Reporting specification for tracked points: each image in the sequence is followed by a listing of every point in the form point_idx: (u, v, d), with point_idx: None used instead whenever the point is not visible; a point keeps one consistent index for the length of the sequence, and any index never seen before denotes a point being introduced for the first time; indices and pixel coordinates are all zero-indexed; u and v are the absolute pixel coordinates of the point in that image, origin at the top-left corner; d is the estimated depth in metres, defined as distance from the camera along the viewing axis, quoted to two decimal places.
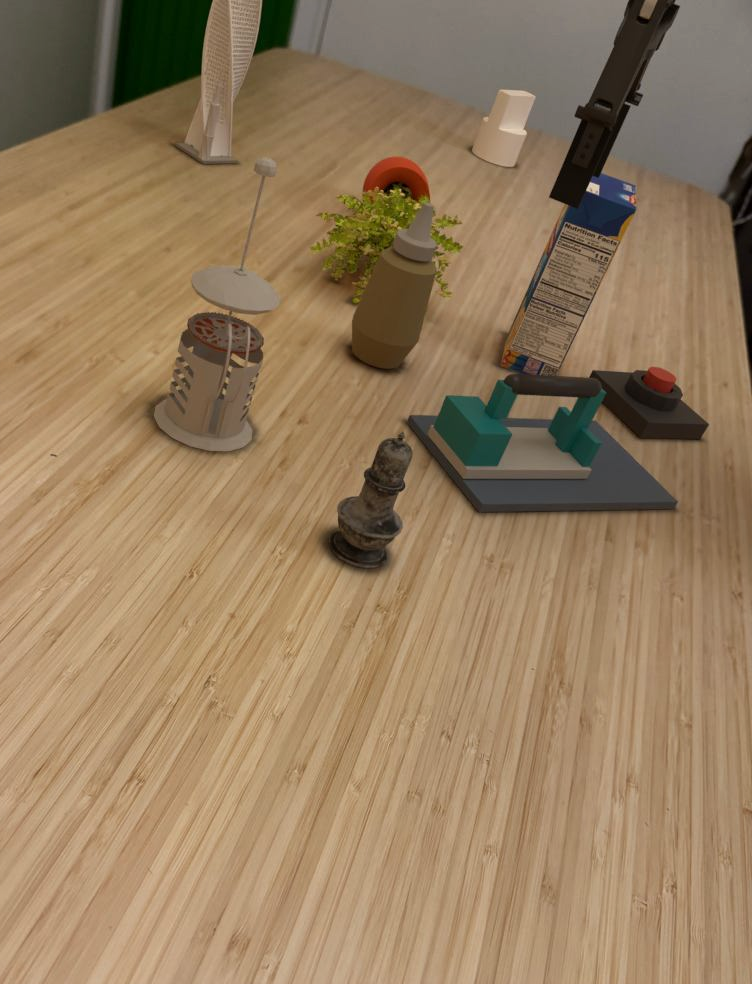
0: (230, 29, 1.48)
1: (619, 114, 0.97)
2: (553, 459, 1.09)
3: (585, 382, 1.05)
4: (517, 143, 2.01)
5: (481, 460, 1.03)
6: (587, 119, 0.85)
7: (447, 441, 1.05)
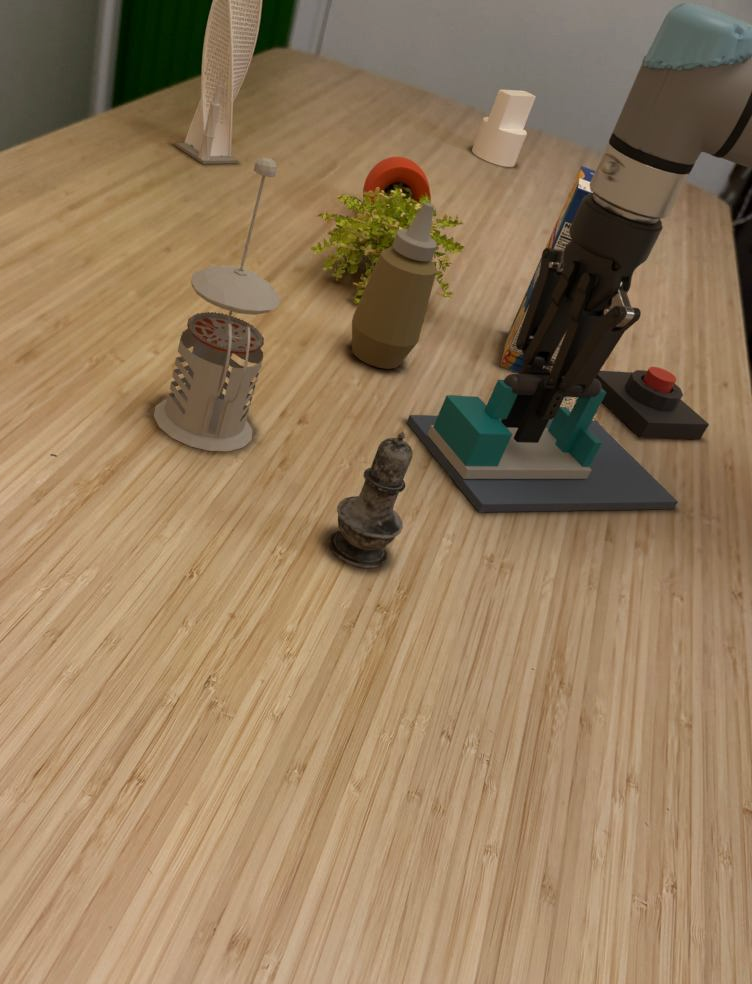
0: (230, 29, 1.48)
1: None
2: (553, 459, 1.09)
3: None
4: (517, 143, 2.01)
5: (481, 460, 1.03)
6: (552, 388, 1.01)
7: (447, 441, 1.05)
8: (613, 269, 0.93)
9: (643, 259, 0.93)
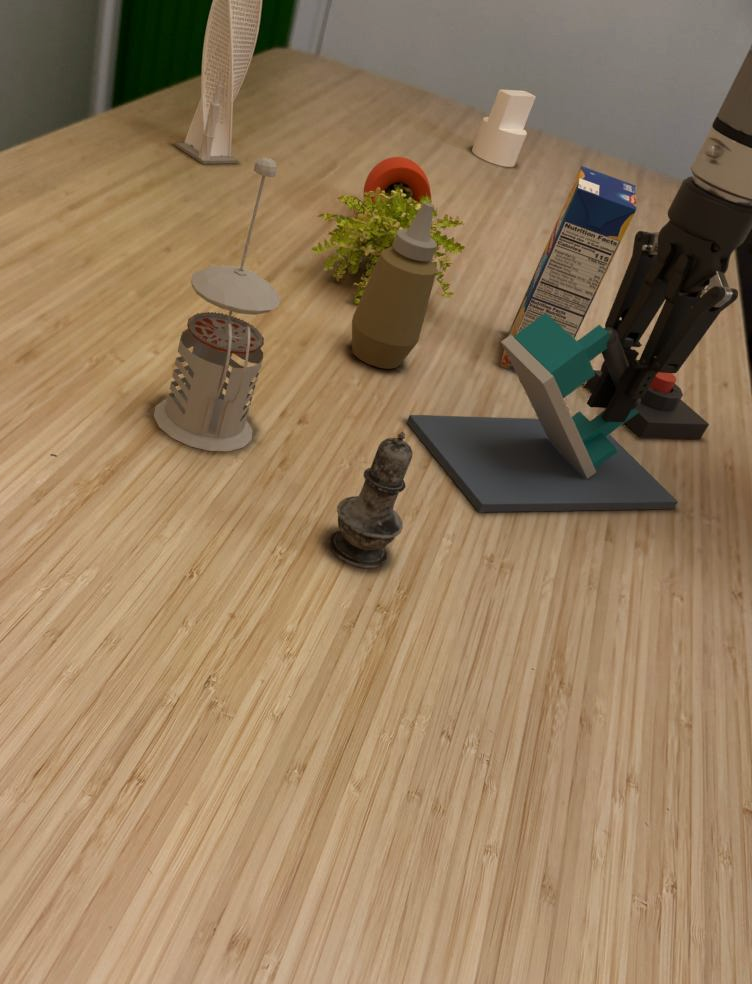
0: (230, 29, 1.48)
1: (630, 360, 1.07)
2: None
3: None
4: (517, 143, 2.01)
5: (561, 379, 0.99)
6: (643, 368, 1.04)
7: (531, 350, 1.00)
8: (712, 251, 0.95)
9: (741, 241, 0.95)
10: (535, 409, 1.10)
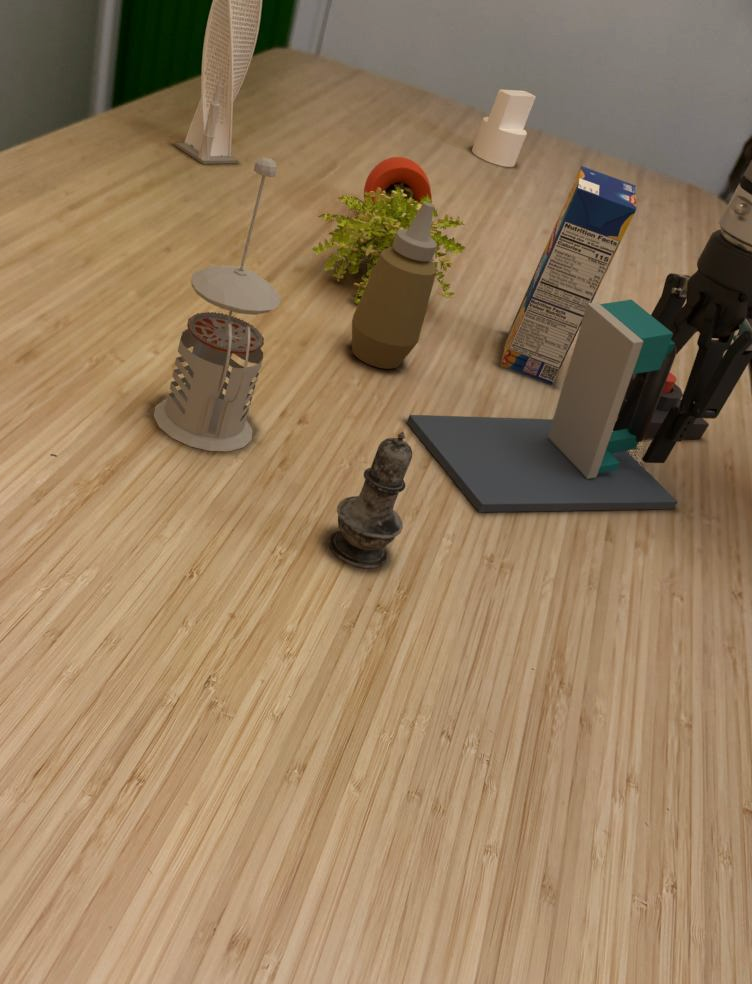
0: (230, 29, 1.48)
1: None
2: None
3: None
4: (517, 143, 2.01)
5: (641, 353, 1.01)
6: (684, 413, 1.08)
7: (619, 318, 1.02)
8: (739, 300, 1.01)
9: None
10: (564, 396, 1.11)
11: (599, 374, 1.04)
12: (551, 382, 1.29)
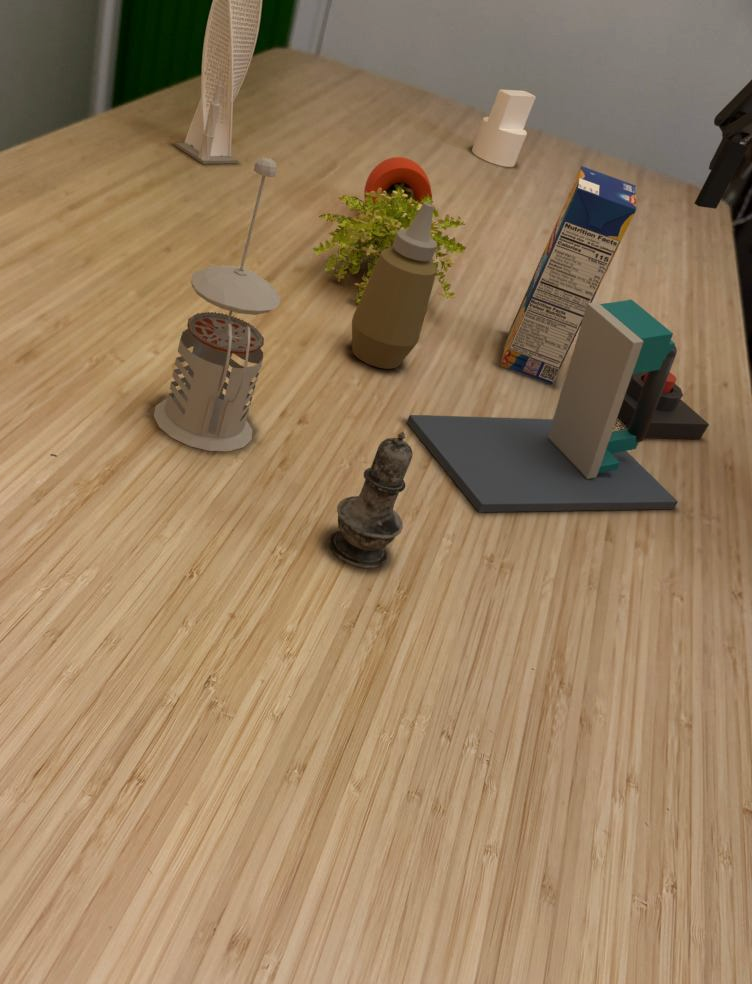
0: (230, 29, 1.48)
1: (740, 154, 1.09)
2: None
3: None
4: (517, 143, 2.01)
5: (641, 353, 1.01)
6: None
7: (619, 318, 1.02)
8: None
9: None
10: (564, 396, 1.11)
11: (599, 374, 1.04)
12: (551, 382, 1.29)
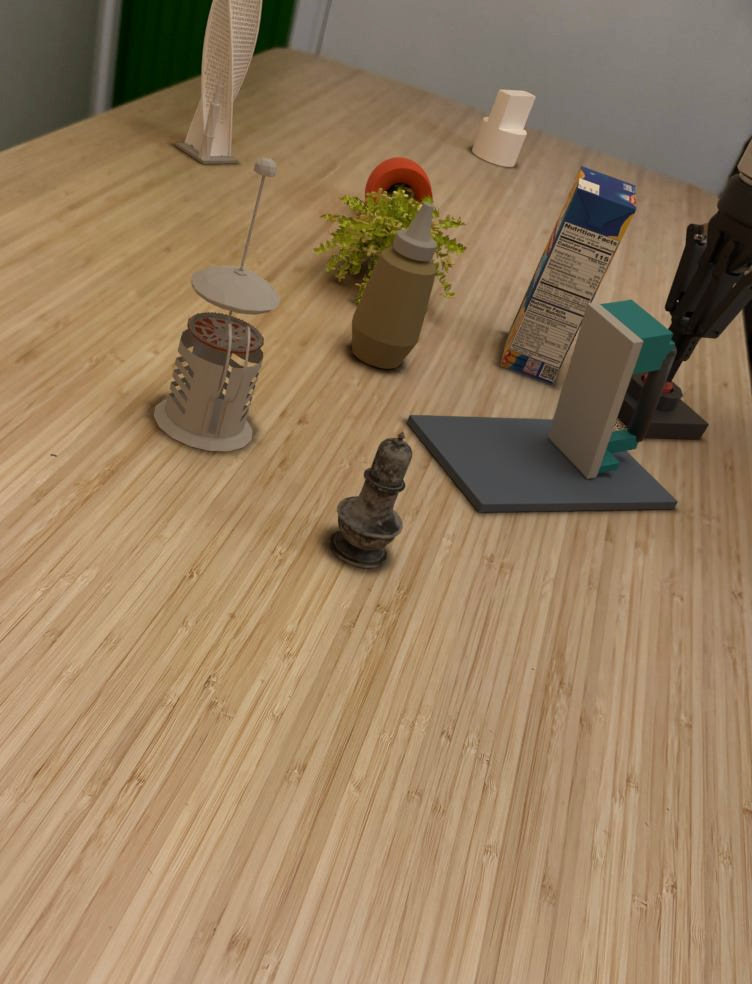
0: (230, 29, 1.48)
1: None
2: None
3: None
4: (517, 143, 2.01)
5: (641, 353, 1.01)
6: (688, 334, 1.21)
7: (619, 318, 1.02)
8: None
9: None
10: (564, 396, 1.11)
11: (599, 374, 1.04)
12: (551, 382, 1.29)
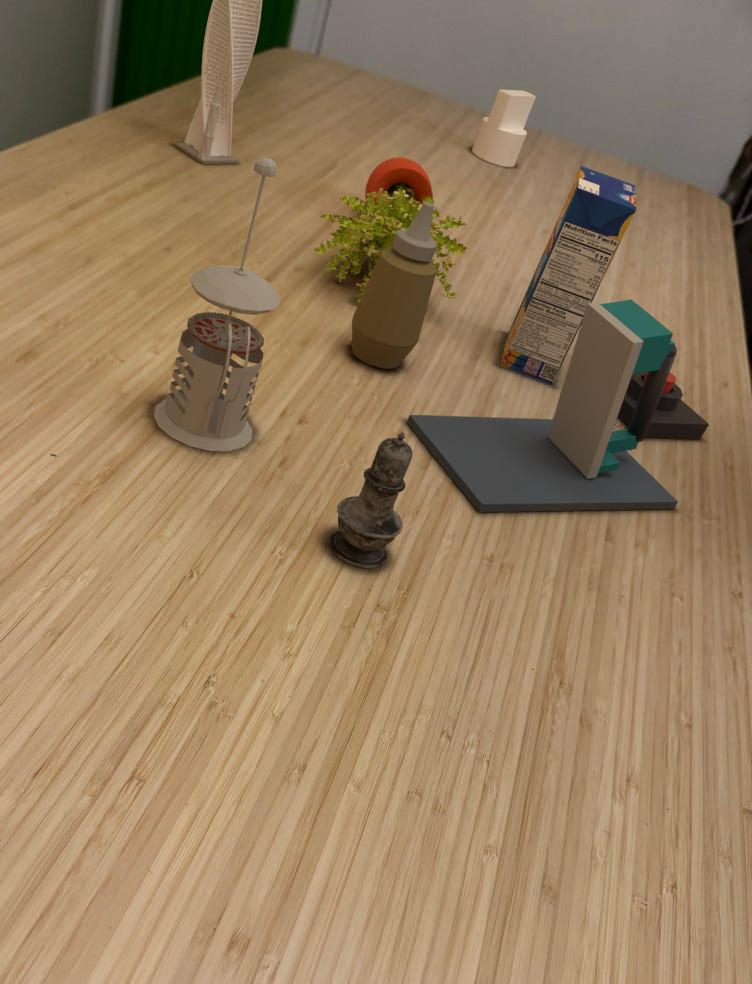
0: (230, 29, 1.48)
1: None
2: None
3: None
4: (517, 143, 2.01)
5: (641, 353, 1.01)
6: None
7: (619, 318, 1.02)
8: None
9: None
10: (564, 396, 1.11)
11: (599, 374, 1.04)
12: (551, 382, 1.29)
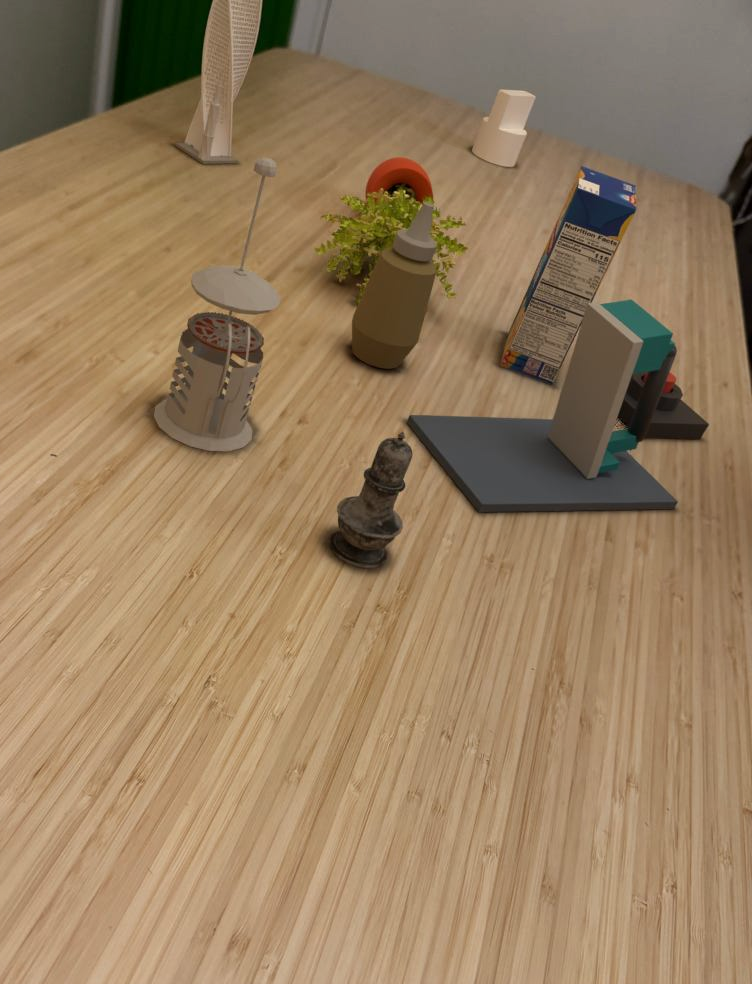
0: (230, 29, 1.48)
1: None
2: None
3: None
4: (517, 143, 2.01)
5: (641, 353, 1.01)
6: None
7: (619, 318, 1.02)
8: None
9: None
10: (564, 396, 1.11)
11: (599, 374, 1.04)
12: (551, 382, 1.29)
